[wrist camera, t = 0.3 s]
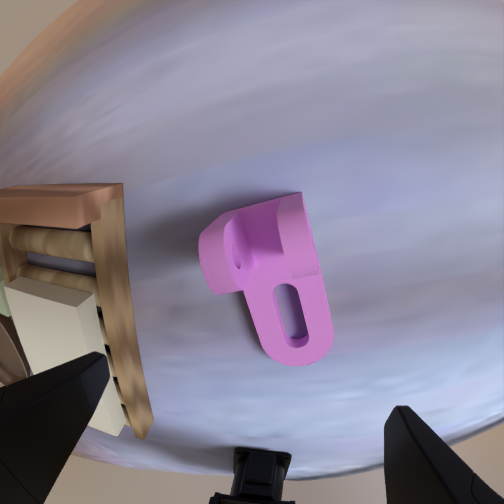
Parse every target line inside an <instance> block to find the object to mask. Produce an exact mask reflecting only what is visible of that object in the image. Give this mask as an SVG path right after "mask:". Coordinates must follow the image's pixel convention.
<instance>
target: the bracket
mask: <svg viewBox="0 0 504 504" xmlns="http://www.w3.org/2000/svg"><path fill="white" fill-rule="evenodd" d="M198 249H199V259H200V264H201V268H202V271H203V274H204V277H205V279H206V282H207V284H208V285H209V287H210V289H211V290H212V291H213V292H214V293H215V294H217V295H222V294H227V293H232V292H237V291H242V290H243V292H244V295H245V298H246V301H247V304H248V307H249V310H250V313H251V316H252V319H253V321H254V324H255V327H256V330H257V333H258V336H259V339H260V342H261V345H262V347H263V349H264V351H265V352H266V353H267V354H268V356H270V357H271V358H272V359H273V360H275V361H277V362H279V363H281V364H284V365H289V366H304V365H309V364H312V363H314V362H316V361H318V360H320V359H321V358H322V357H324V356H325V355H326V354H327V353H328V351H329V350H330V348H331V346H332V344H333V339H334V331H333V325H332V320H331V315H330V310H329V305H328V300H327V295H326V291H325V286H324V281H323V277H322V272H321V268H320V264H319V259H318V255H317V251H316V246H315V242H314V238H313V234H312V230H311V226H310V222H309V218H308V214H307V210H306V206H305V203H304V199H303V195H302V192H299V193H295V194H291V195H287V196H284V197H280V198H276V199H272V200H268V201H264V202H261V203H257V204H253V205H249V206H246V207H242V208H238V209H235V210H231V211H228V212H224V213H222V214H221V215H220V216H219V217H218V218H217V219H215V220H214V221H213V222H212V223H211V224H210V225H209V226H208V227H206V228H205V229H204V230H203V231H202V232H201V234H200V237H199V244H198ZM283 283H287V284H291V285H293V286H294V287H295V288H296V289H297V291H298V294H299V298H300V302H301V306H302V309H303V313H304V317H305V321H306V325H307V330H308V334H307V335H306V336H305V337H303V338H301V339H293V338H291V337H289V336H288V335H287V334H286V331H285V328H284V324H283V321H282V317H281V314H280V310H279V307H278V303H277V300H276V297H275V293H274V288H275V287H276V286H278V285H279V284H283Z"/></svg>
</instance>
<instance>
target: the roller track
mask: <svg viewBox="0 0 504 504" xmlns="http://www.w3.org/2000/svg"><path fill="white" fill-rule="evenodd" d="M89 223H91V232H82V231H71V230H60V229H49V228H38V227H27V226H22V224H25V225H37V226H49V227H61V228H72V229H78V228H80V227H82V226H84V225H87V224H89ZM26 252H31V253H37V254H42V255H48V256H55V257H61V258H67V259H73V260H80V261H86V262H93V263H95V270H96V277H91V276H85V275H80V274H75V273H69V272H64V271H59V270H54V269H49V268H44V267H39V266H34V265H29V264H28V260H27V254H26ZM0 262H1V267H2V271H3V276H4V280H5V284H8V283H10V282H11V281H13V280H15V279H17V278H18V277H20V276H21V277H25V278H29V279H33V280H37V281H41V282H45V283H49V284H53V285H58V286H62V287H66V288H71V289H75V290H80V291H84V292H89V293H94V297H95V303H96V306H99V307H101V308H102V313H103V317H100V316H98V319H99V324H100V328H101V333H102V337H103V342H104V344H107V345H109V347H110V351H107V350H106V354H107V358H108V362H109V366H110V369H111V373H112V376H114V377H117V378H118V380H115V379H113V380H114V384H115V387H116V390H117V394H118V397H119V400H120V403H121V406H122V409H123V413H124V415H125V418H126V423H125V425H127V426H130V427H133V430H134V433H135V436H136V437H137V438H140V439H145V437H146V435H147V433H148V431H149V429H150V427H151V425H152V423H153V421H154V418H153V414H152V410H151V406H150V401H149V397H148V393H147V388H146V384H145V379H144V374H143V369H142V364H141V358H140V353H139V347H138V342H137V335H136V329H135V323H134V316H133V309H132V301H131V293H130V284H129V275H128V265H127V253H126V240H125V223H124V199H123V183H91V184H49V185H27V186H12V187H9V188H5V189H1V190H0Z"/></svg>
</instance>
